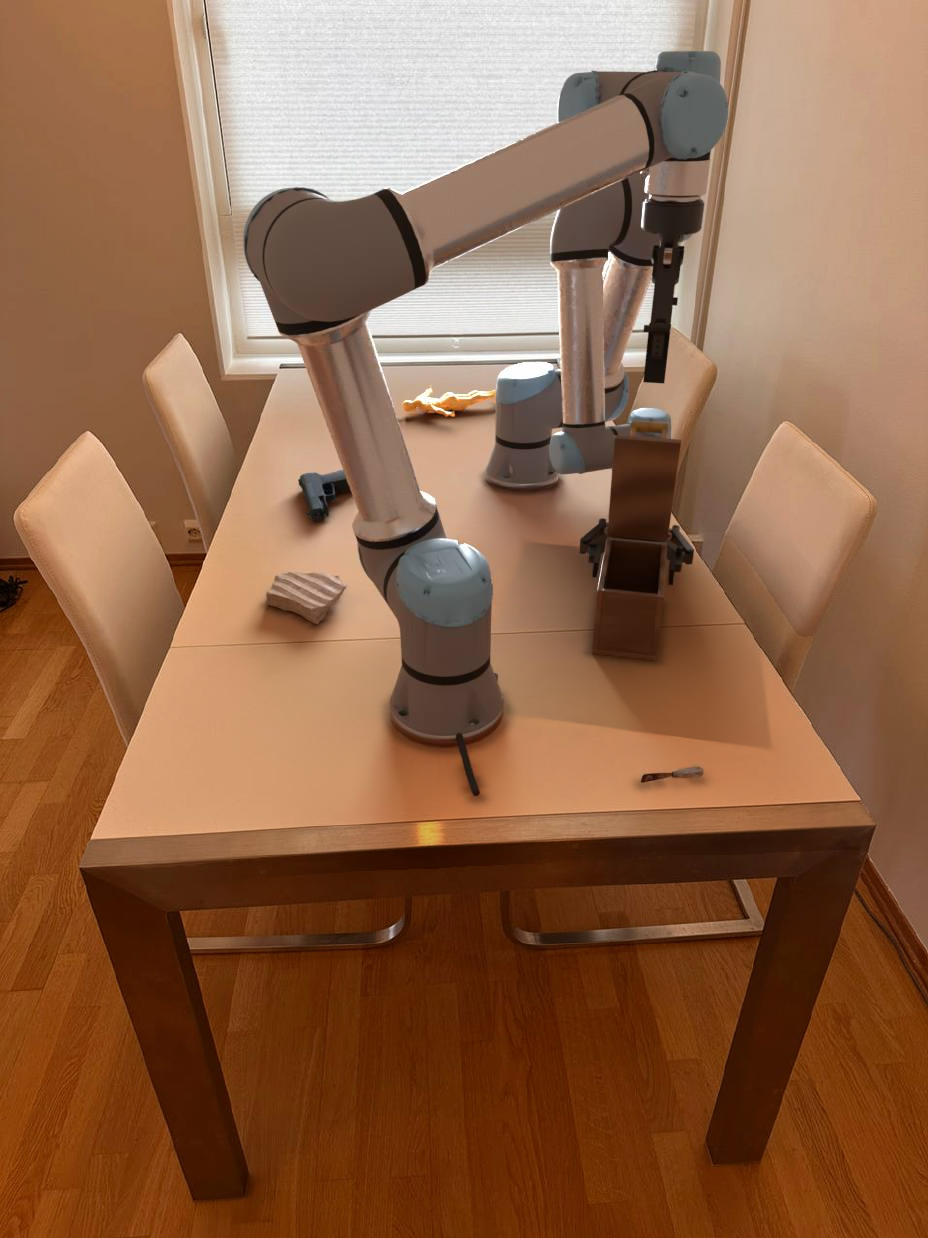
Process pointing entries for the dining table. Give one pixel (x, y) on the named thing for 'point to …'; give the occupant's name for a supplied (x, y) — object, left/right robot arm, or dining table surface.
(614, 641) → the chest
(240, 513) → the dining table surface
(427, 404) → the human figure
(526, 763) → the dining table surface
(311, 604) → the stone
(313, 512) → the handgun
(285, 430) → the dining table surface
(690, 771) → the putty knife
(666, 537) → the lid
